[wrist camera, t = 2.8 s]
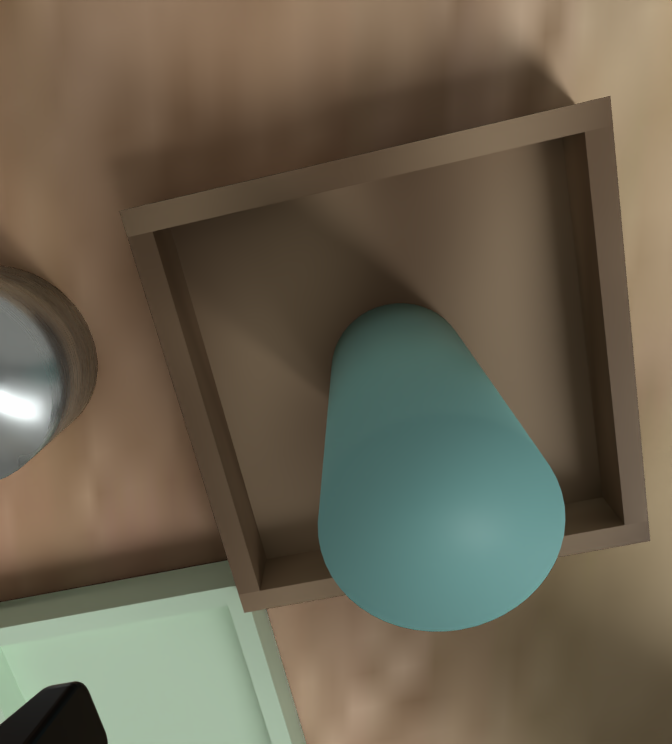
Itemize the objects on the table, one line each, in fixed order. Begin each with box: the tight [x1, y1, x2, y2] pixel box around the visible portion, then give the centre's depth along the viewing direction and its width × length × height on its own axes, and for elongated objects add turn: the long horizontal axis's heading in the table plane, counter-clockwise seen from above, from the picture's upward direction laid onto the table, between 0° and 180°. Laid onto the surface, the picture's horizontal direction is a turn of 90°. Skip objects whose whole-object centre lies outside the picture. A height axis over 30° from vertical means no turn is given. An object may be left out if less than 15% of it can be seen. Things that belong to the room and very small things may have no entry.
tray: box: [0, 560, 306, 744], centre depth 20 cm, size 9×9×1 cm
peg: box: [318, 303, 565, 631], centre depth 13 cm, size 4×4×8 cm
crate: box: [119, 96, 650, 613], centre depth 16 cm, size 11×11×2 cm
